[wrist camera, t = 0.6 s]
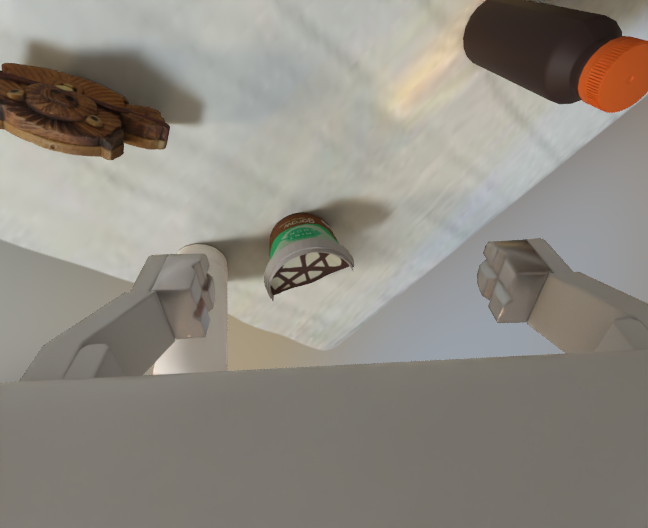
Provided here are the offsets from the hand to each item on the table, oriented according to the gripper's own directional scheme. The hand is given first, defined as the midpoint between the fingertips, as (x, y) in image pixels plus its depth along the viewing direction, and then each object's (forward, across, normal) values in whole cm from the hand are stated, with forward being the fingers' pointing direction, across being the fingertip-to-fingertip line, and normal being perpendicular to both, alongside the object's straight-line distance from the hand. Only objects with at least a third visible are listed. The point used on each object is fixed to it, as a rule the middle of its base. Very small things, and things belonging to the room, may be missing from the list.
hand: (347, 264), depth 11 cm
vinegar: (+41, -20, -1) cm, 45 cm away
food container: (+38, +4, +23) cm, 45 cm away
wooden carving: (+35, +24, +3) cm, 42 cm away
